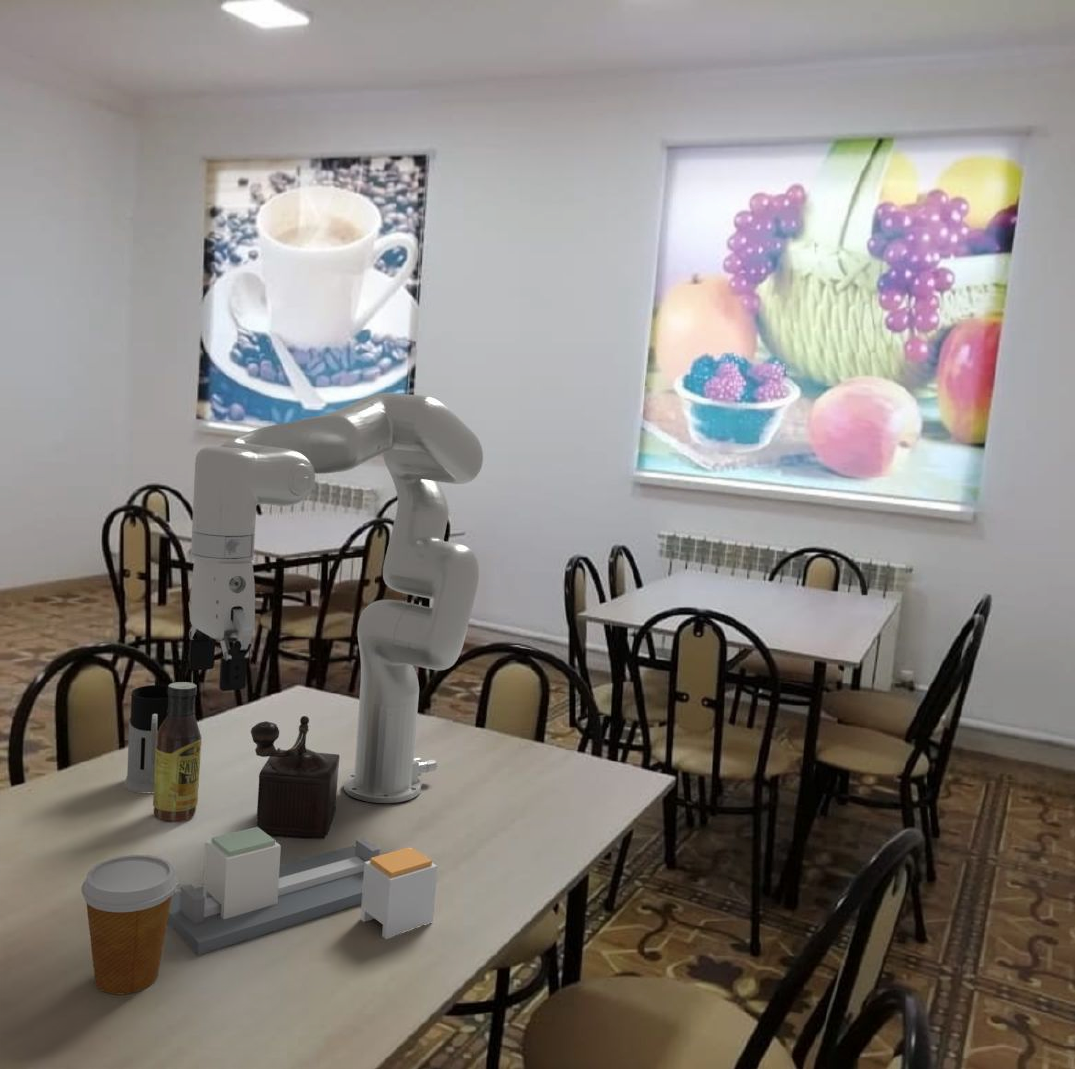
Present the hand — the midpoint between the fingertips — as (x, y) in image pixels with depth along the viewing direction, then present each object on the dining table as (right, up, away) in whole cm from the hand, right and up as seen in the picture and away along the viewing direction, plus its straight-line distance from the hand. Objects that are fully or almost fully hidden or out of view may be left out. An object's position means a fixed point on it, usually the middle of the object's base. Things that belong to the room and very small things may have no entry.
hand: (216, 679), depth 128 cm
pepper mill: (+5, -25, +20) cm, 33 cm away
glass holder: (-20, -22, +30) cm, 42 cm away
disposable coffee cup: (-3, -30, -20) cm, 36 cm away
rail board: (+9, -28, 0) cm, 29 cm away
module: (+23, -30, -3) cm, 38 cm away
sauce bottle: (-13, -24, +21) cm, 34 cm away
